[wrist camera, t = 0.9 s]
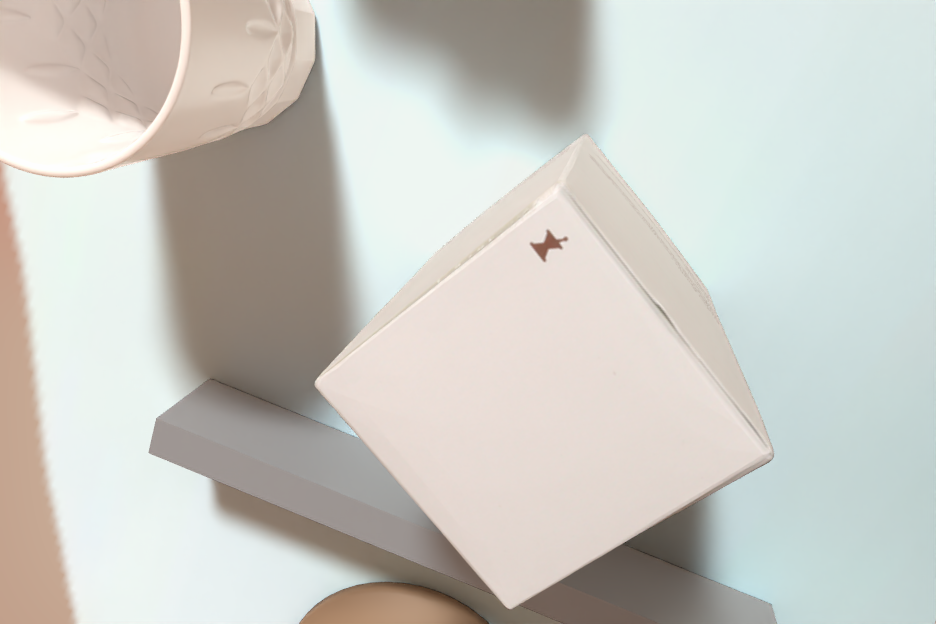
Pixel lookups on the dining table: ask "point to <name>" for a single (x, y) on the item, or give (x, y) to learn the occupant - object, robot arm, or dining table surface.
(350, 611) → the coaster
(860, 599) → the dining table surface
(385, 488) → the low wall
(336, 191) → the dining table surface
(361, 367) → the supplement box
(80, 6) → the white cup
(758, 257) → the dining table surface
